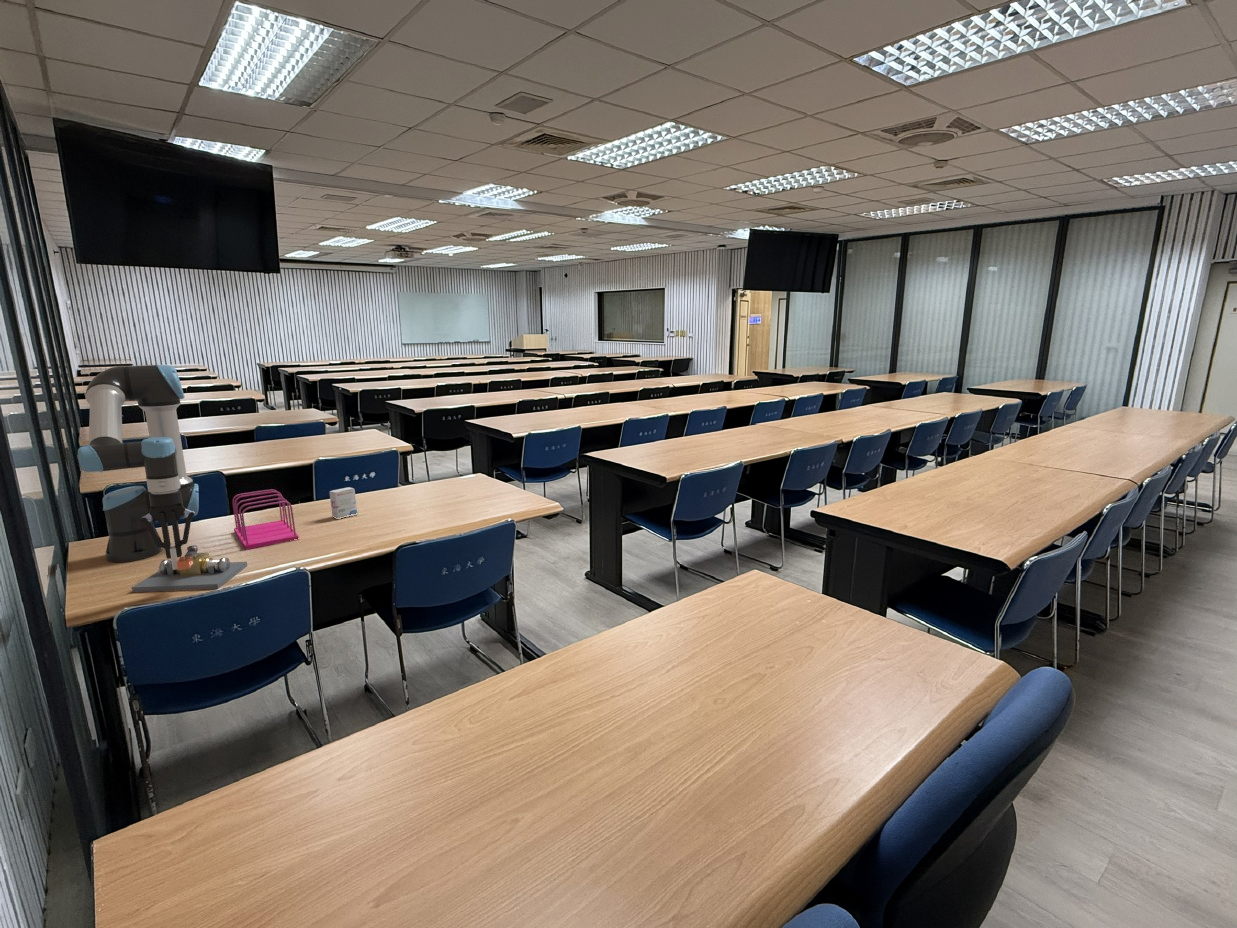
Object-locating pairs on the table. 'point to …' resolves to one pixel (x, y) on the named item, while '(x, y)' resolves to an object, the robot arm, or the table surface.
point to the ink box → (343, 502)
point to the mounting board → (188, 580)
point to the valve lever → (187, 558)
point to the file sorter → (265, 531)
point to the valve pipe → (197, 566)
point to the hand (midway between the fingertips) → (176, 567)
